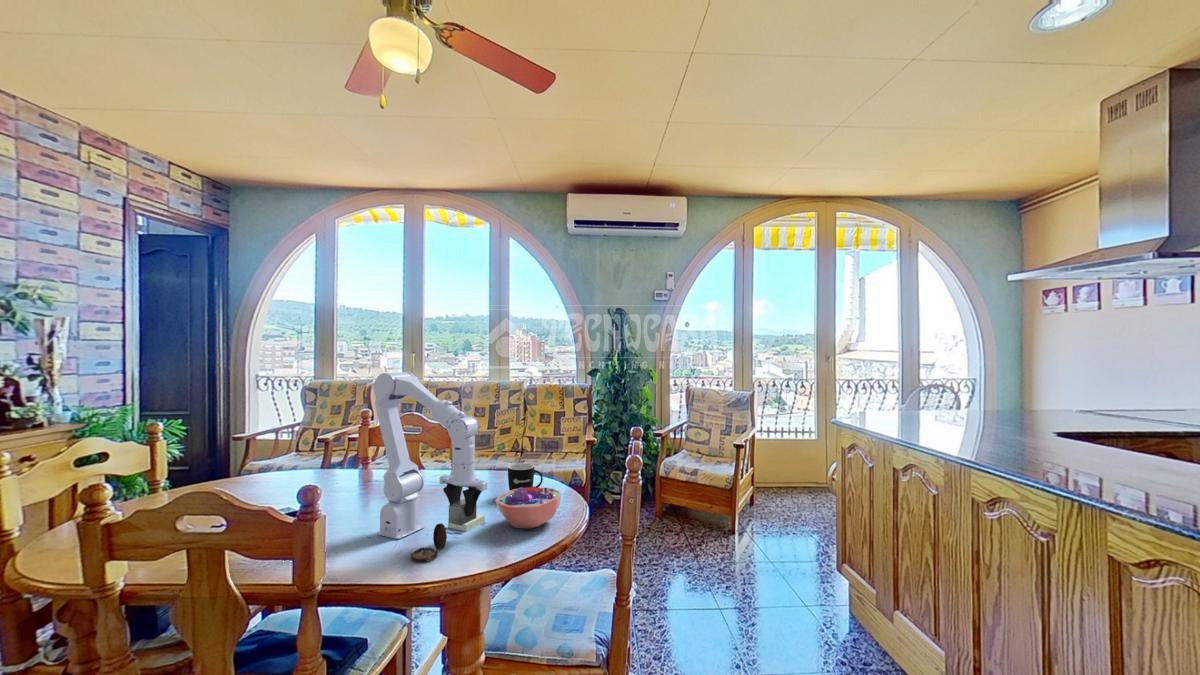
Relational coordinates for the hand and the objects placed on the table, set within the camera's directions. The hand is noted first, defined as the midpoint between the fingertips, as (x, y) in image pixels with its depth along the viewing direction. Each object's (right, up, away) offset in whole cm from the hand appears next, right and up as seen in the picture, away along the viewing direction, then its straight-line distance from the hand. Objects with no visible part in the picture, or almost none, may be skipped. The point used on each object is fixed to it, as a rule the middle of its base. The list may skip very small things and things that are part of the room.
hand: (462, 513), depth 129 cm
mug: (+11, -8, +38) cm, 40 cm away
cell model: (+16, -7, +11) cm, 21 cm away
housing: (0, -2, 0) cm, 2 cm away
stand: (-2, -7, +11) cm, 13 cm away
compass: (-5, -7, -11) cm, 14 cm away
